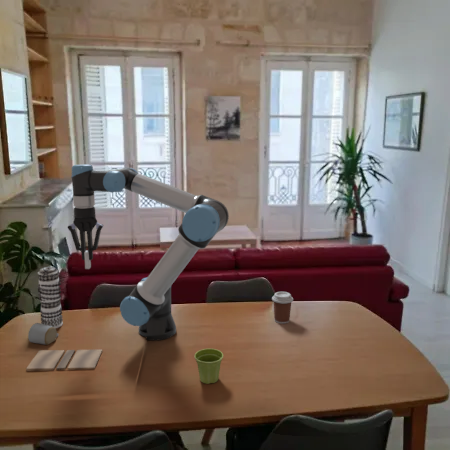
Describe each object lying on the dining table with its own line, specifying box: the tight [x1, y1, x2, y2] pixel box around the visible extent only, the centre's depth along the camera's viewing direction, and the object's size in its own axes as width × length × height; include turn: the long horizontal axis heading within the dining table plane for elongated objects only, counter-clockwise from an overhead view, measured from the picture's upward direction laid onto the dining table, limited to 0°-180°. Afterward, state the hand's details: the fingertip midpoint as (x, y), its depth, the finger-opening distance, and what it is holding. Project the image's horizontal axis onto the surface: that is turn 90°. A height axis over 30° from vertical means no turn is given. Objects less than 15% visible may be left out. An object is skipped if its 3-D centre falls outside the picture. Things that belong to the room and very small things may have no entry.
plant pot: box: [194, 348, 224, 385], centre depth 148 cm, size 9×9×9 cm
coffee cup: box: [271, 291, 294, 324], centre depth 194 cm, size 9×9×12 cm
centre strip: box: [55, 349, 76, 371], centre depth 158 cm, size 3×13×2 cm, turn 4°
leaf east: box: [25, 349, 66, 372], centre depth 158 cm, size 9×13×1 cm
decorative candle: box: [37, 266, 64, 329], centre depth 188 cm, size 9×9×25 cm
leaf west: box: [67, 348, 103, 371], centre depth 159 cm, size 9×13×1 cm
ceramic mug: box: [27, 322, 60, 346], centre depth 175 cm, size 11×8×8 cm
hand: (88, 267), depth 171 cm, fingers closed
